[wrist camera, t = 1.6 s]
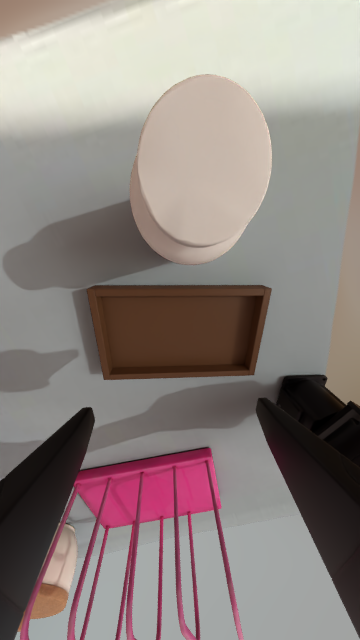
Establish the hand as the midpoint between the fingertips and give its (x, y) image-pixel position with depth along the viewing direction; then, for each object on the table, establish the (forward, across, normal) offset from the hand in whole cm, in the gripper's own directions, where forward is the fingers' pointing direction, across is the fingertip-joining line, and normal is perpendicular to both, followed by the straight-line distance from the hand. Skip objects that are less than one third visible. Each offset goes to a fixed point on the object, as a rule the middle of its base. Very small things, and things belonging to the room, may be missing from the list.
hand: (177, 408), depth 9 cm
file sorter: (+13, +5, +35) cm, 38 cm away
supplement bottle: (+13, -1, -10) cm, 17 cm away
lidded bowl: (+13, +27, +50) cm, 58 cm away
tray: (+13, -1, +2) cm, 13 cm away
